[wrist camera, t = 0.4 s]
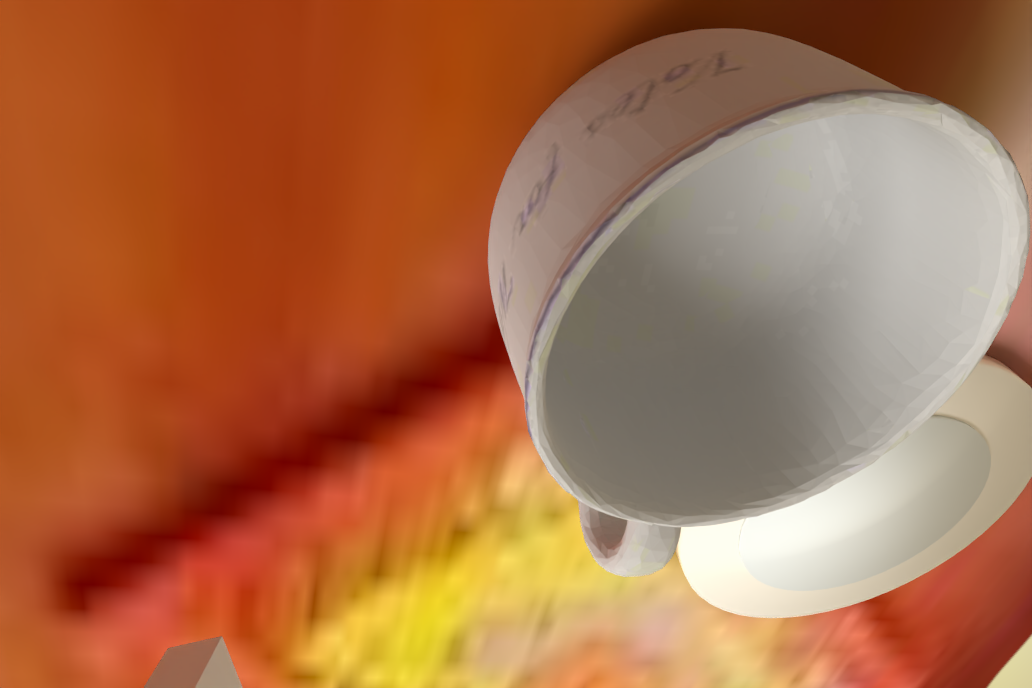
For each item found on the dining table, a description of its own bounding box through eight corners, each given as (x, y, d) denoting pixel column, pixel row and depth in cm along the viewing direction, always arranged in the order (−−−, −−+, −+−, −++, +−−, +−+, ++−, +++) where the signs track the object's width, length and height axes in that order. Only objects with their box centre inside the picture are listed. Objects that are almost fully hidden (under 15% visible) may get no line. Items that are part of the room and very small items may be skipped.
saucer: (655, 420, 26) (666, 443, 26) (1073, 296, 26) (1099, 314, 26) (687, 633, 37) (695, 655, 36) (989, 543, 37) (1005, 563, 36)
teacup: (597, -102, 16) (756, -27, 10) (913, 98, 20) (1161, 237, 14) (370, 363, 23) (379, 583, 16) (646, 437, 27) (735, 632, 21)
